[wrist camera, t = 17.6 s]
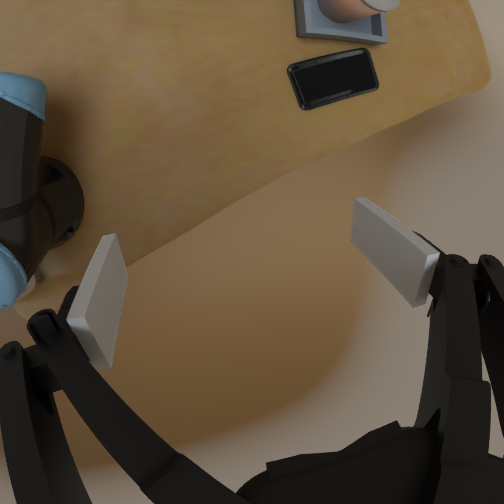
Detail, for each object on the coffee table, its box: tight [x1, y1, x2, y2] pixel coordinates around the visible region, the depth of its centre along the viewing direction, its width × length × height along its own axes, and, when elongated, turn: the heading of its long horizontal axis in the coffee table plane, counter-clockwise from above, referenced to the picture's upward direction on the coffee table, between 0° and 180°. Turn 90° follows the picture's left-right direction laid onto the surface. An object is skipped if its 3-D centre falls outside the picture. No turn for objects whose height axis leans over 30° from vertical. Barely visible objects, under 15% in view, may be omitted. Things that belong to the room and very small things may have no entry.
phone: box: [287, 48, 379, 110], centre depth 41 cm, size 8×1×15 cm
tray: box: [294, 0, 388, 45], centre depth 33 cm, size 14×13×4 cm
